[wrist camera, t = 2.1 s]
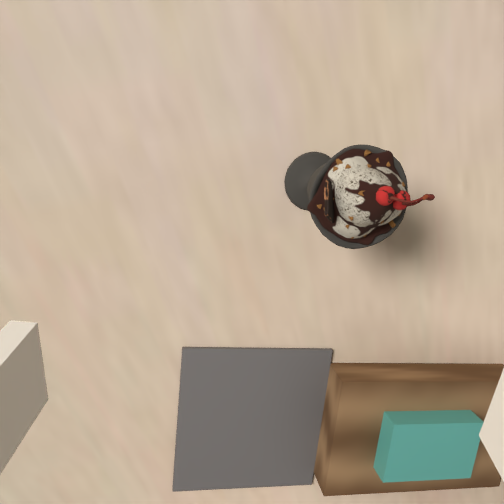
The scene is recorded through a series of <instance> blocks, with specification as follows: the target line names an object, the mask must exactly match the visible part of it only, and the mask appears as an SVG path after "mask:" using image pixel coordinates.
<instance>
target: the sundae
mask: <svg viewBox="0 0 504 504" xmlns="http://www.w3.org/2000/svg"><path fill="white" fill-rule="evenodd" d="M285 189H286V193H287V195H288V197H289V199H290V200H291V202H292V203H293V204H295V205H296V206H297V207H299V208H301V209H304V210H308V211H309V212H310V213H311V216H312V219H313V221H314V223H315V224H316V226H317V227H318V229H319V230H320V232H321V233H322V234H323V235H324V236H325V237H326V238H327V239H329V240H330V241H331V242H333V243H335V244H336V245H338V246H341V247H345V248H350V249H357V248H364V247H368V246H371V245H375V244H377V243H378V242H380V241H382V240H384V239H385V238H387V237H388V236H390V235H391V234H392V233H393V232H394V231H395V229H396V228H397V227H398V226H399V224H400V223H401V221H402V219H403V217H404V214H405V211H406V207H407V206H411V205H415V204H417V203H419V202H421V201H422V200H434V198H435V196H434V195H433V194H425V195H424V196H423V197H421V198H419V199H416V200H413V201H410V195H409V194H408V191H407V180H406V176H405V173H404V170H403V168H402V166H401V164H400V162H399V161H398V160H397V159H396V158H395V157H394V156H393V154H392V153H391V152H390V151H387V150H386V151H385V150H383V149H380V148H378V147H374V146H370V145H354V146H350V147H347V148H345V149H343V150H341V151H340V152H338V153H337V154H336V155H334V156H333V157H332V158H330V157H329V156H327V155H326V154H323V153H319V152H309V153H305V154H303V155H301V156H299V157H298V158H296V159H295V160H294V161H293V162H292V164H291V165H290V166H289V168H288V170H287V173H286V176H285ZM416 201H417V202H416Z"/></svg>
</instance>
